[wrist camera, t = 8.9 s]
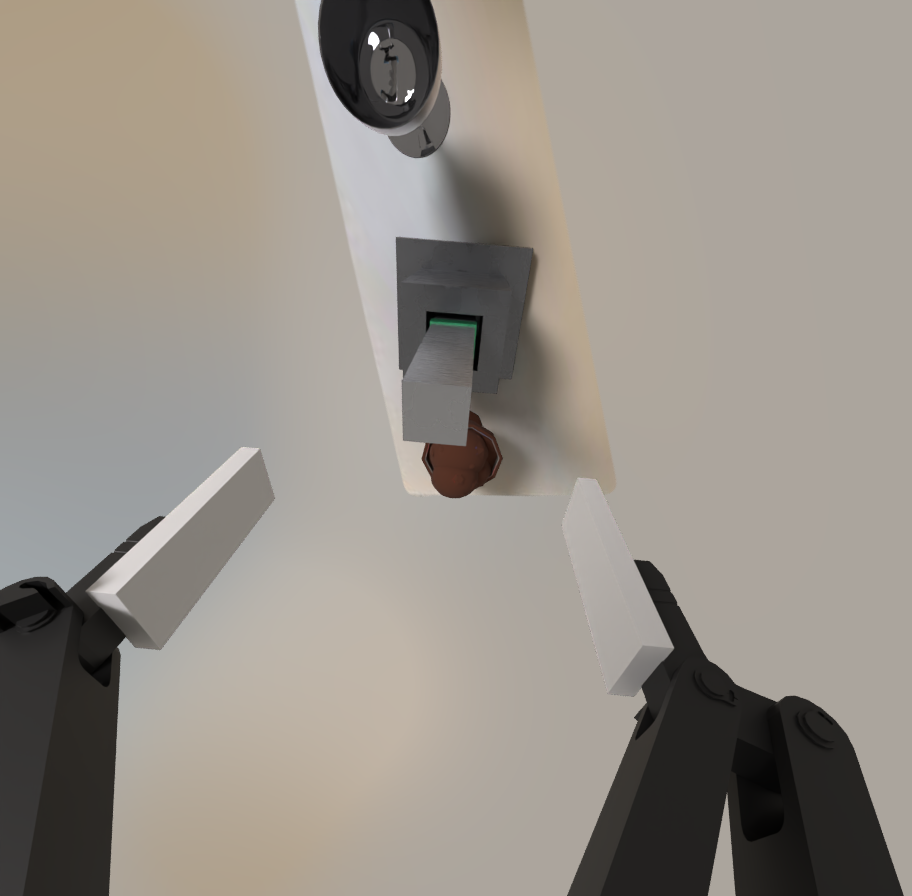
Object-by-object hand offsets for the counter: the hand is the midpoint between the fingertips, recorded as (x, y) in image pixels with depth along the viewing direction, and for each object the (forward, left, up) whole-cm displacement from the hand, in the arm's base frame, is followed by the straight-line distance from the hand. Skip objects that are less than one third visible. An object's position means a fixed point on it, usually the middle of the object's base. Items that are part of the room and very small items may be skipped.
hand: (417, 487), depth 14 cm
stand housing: (0, 0, -36) cm, 36 cm away
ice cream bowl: (+17, +2, -37) cm, 40 cm away
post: (0, 0, -28) cm, 28 cm away
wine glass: (-19, -6, -37) cm, 42 cm away
